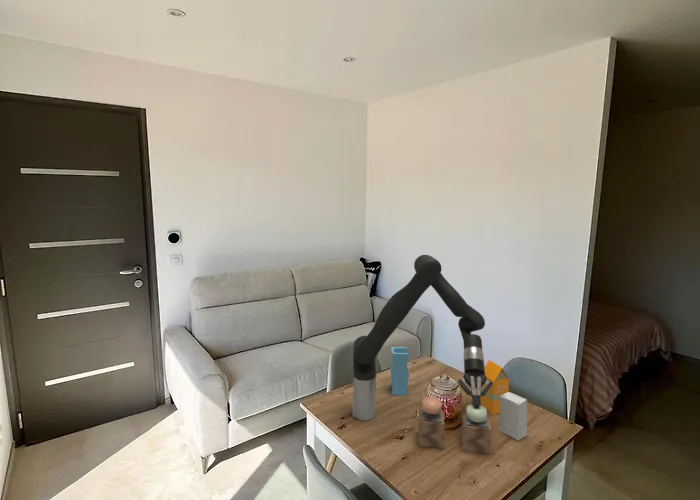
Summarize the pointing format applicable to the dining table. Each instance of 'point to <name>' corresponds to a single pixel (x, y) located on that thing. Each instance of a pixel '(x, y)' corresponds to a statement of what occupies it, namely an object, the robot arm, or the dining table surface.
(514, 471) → the dining table surface
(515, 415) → the skincare box
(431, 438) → the pillar
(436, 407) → the terracotta button
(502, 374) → the orange juice
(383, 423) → the dining table surface
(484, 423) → the pillar
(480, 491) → the dining table surface
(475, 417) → the sage button
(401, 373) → the vase
